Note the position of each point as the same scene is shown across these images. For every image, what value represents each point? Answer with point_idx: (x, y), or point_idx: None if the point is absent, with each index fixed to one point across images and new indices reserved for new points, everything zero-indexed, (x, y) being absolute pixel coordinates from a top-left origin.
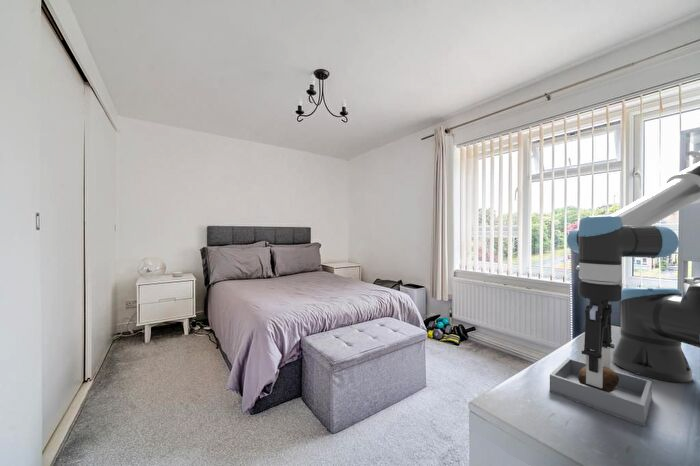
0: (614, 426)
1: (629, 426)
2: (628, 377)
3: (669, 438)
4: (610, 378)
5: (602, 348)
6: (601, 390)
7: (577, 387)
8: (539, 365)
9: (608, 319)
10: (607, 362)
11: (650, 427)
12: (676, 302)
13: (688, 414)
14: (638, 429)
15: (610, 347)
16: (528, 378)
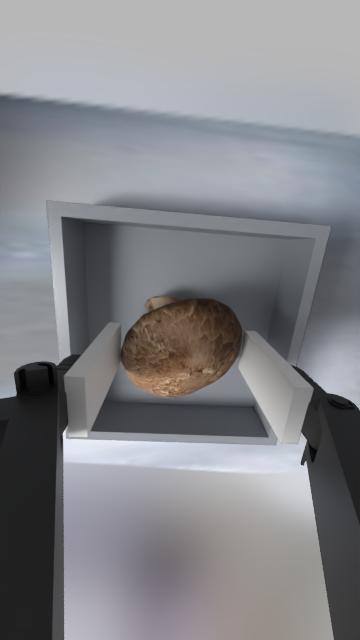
0: (340, 285)
1: None
2: (67, 272)
3: (317, 181)
4: (228, 322)
5: (88, 403)
6: (295, 331)
7: None
8: (100, 458)
9: None
10: (109, 349)
11: (286, 218)
12: None
13: (106, 121)
14: None
15: (55, 378)
16: (215, 455)
